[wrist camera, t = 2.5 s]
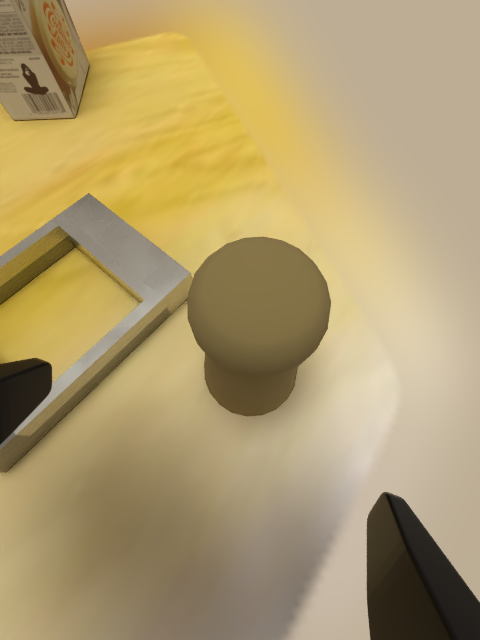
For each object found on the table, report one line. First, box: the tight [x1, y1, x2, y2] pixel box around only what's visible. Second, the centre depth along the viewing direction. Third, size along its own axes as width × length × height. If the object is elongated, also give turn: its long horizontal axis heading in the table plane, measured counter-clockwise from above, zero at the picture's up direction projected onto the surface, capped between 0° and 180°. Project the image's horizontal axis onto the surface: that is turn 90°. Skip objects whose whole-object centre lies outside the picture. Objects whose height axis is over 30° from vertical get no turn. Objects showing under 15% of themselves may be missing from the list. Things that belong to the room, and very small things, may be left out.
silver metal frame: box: [0, 193, 193, 473], centre depth 20 cm, size 16×11×2 cm
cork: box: [188, 237, 331, 416], centre depth 15 cm, size 6×6×11 cm
